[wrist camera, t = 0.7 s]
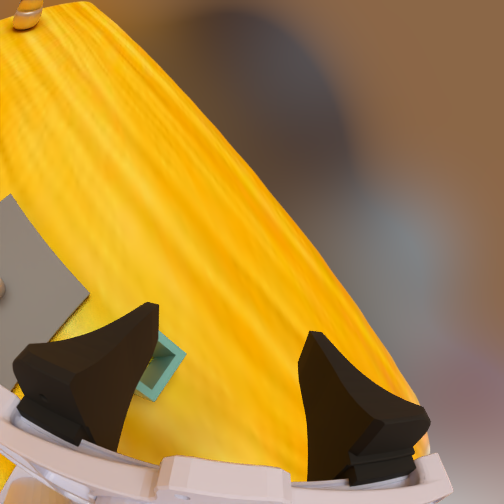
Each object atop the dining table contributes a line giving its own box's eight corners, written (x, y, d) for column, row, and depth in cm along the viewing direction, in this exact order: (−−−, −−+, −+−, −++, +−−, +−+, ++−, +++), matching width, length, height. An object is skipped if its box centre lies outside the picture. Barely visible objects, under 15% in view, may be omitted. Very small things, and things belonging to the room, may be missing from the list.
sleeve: (136, 394, 22) (154, 402, 18) (95, 361, 21) (102, 361, 17) (162, 356, 25) (186, 353, 21) (125, 324, 24) (139, 313, 20)
